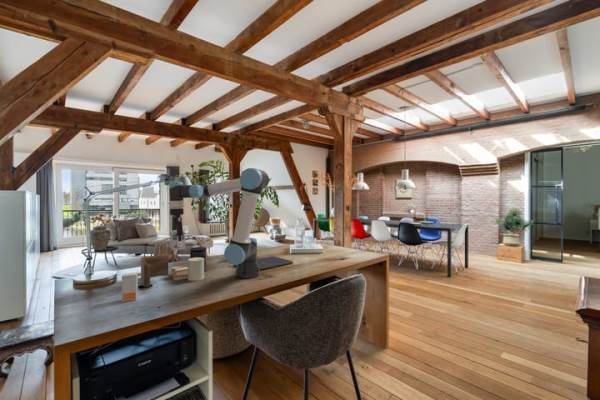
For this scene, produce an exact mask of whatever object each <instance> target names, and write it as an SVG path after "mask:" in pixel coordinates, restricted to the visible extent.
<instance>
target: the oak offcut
mask: <svg viewBox="0 0 600 400" xmlns="http://www.w3.org/2000/svg"><path fill="white" fill-rule="evenodd" d="M170 273H171V272H170ZM171 278H172V279H173V280H174V281H180V280H185V279H186V280H187V279H188V273H187V274H182V275H175V274H173V273H171Z"/></svg>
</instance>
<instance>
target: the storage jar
mask: <svg viewBox="0 0 600 400" xmlns="http://www.w3.org/2000/svg"><path fill="white" fill-rule="evenodd" d="M197 257H200V258H204V273H206V272H207V247H205V246H195V247H191V248H190V249H189V259H190V258H197Z"/></svg>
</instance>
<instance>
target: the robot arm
mask: <svg viewBox="0 0 600 400" xmlns="http://www.w3.org/2000/svg"><path fill="white" fill-rule="evenodd" d="M239 176H240V177H239V178H235V179H230V180H225V181H220V182H214V183H209V184H205V185H200V184H186V185H184V183H183V181H171V182H169V186H168V187H169V188H168V192H169V202H168V205H169V208H170V209H169V215H170V216H172V217H171V219H172V225H171V228H172V229H171V230H177V234H176V236H177V247H182V234H183V231H184V230H183V220H182V219H183V218H182V217H181V216H183V215H184V213H185V212H184V211H185V210H184V199H185V198H186V199H191V198H192V199H201V198H202V199H207V198H210V197H215V196H220V195H224V194H230V193H235V192H241V193H242V194H241V195H242V196H241V199H240V205H239V210H238V214H237V219H236V225H235V229H234V233H233V235H232V236H231V237H230V239H229V242H228V245H227V246H226V247H225V248H224V253H223V254H224V258H225V259H226V261H227V263H229V264H230V265H233V266H234V265H235V266H236V267H235V271H234V277H236V278H238V279H254V278H257V277H259V276H260V275H261V270H260V266H259V264H258V239H257V238H256V237H251V236H250V235H251V232H252V226H253V222H254V216H255V212H256V207H257V204H258V198H259V196H261V195H262V192H263V190H264V189H265V188H266V187H268V185H269V184H270V183H269V182H270V177H269V175H268V173H267V172H266V171H264V170H262V169H258V168H256V167H249V168H246V169H244V170H243V171H242V172H241V174H240V175H239Z"/></svg>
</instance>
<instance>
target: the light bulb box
mask: <svg viewBox="0 0 600 400" xmlns="http://www.w3.org/2000/svg"><path fill="white" fill-rule="evenodd" d="M185 232H186V231H185V230H183V234H182V247H177V236H176V234H177V230H172V229H171V230H169V235H170V236H169V241H170V249H171V250H172V251H179V250H185V249H186V237H185V234H186V233H185Z"/></svg>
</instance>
